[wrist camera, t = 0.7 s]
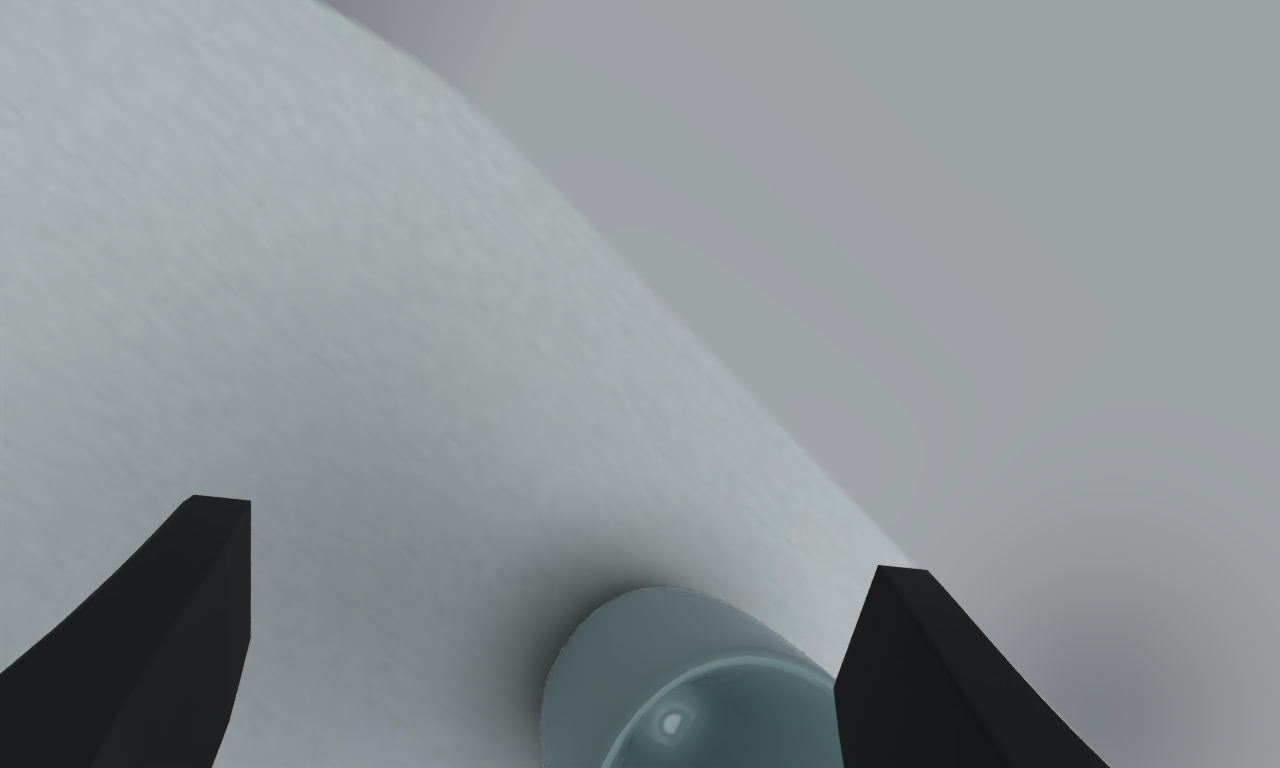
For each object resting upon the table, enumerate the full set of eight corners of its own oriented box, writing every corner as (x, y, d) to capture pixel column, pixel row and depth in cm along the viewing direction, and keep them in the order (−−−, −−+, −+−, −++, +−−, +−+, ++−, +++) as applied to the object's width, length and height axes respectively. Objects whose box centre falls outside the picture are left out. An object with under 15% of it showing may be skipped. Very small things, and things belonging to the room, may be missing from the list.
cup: (800, 643, 38) (950, 755, 29) (668, 843, 38) (776, 1028, 28) (614, 516, 37) (707, 589, 27) (472, 723, 36) (515, 877, 26)
